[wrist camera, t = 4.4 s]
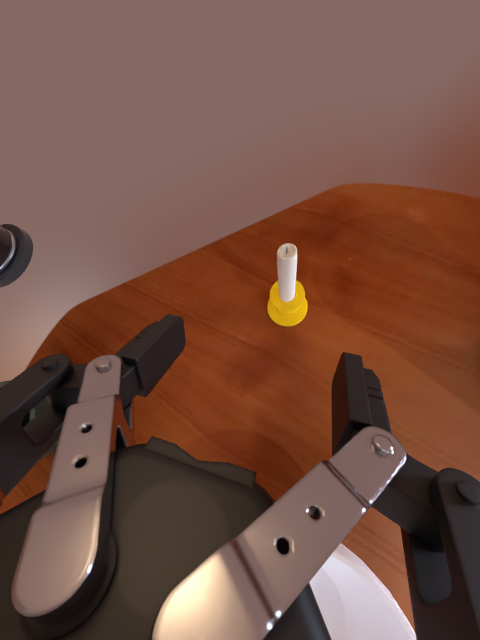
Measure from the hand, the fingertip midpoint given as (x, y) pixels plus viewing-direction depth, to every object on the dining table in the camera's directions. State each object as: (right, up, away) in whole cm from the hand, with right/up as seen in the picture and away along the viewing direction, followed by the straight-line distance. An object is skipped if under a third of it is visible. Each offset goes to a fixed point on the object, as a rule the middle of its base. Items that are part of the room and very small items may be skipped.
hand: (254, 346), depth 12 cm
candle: (+6, +3, +20) cm, 21 cm away
